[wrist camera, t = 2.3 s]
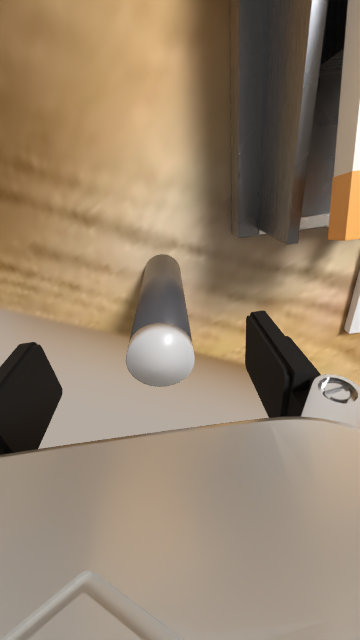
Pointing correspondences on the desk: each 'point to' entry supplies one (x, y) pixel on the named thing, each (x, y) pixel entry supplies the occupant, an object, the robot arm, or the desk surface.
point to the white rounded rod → (161, 327)
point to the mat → (354, 311)
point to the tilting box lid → (348, 138)
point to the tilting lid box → (284, 113)
